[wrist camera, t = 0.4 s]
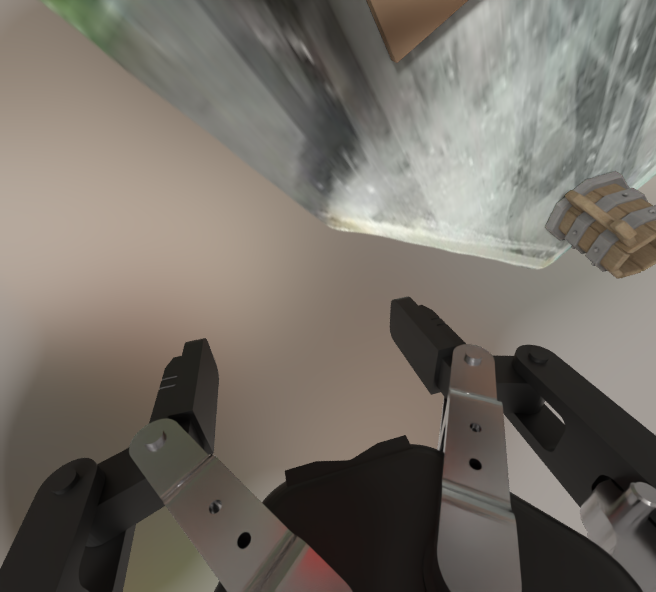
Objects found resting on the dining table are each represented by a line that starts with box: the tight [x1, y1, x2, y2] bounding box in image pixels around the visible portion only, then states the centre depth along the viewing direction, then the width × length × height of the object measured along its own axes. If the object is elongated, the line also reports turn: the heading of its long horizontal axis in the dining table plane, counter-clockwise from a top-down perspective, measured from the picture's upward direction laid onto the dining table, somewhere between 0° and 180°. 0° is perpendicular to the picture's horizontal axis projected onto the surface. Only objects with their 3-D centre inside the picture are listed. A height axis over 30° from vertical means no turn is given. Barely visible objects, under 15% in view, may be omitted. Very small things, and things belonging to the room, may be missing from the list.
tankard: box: [545, 171, 656, 278], centre depth 49 cm, size 20×13×15 cm, turn 56°
